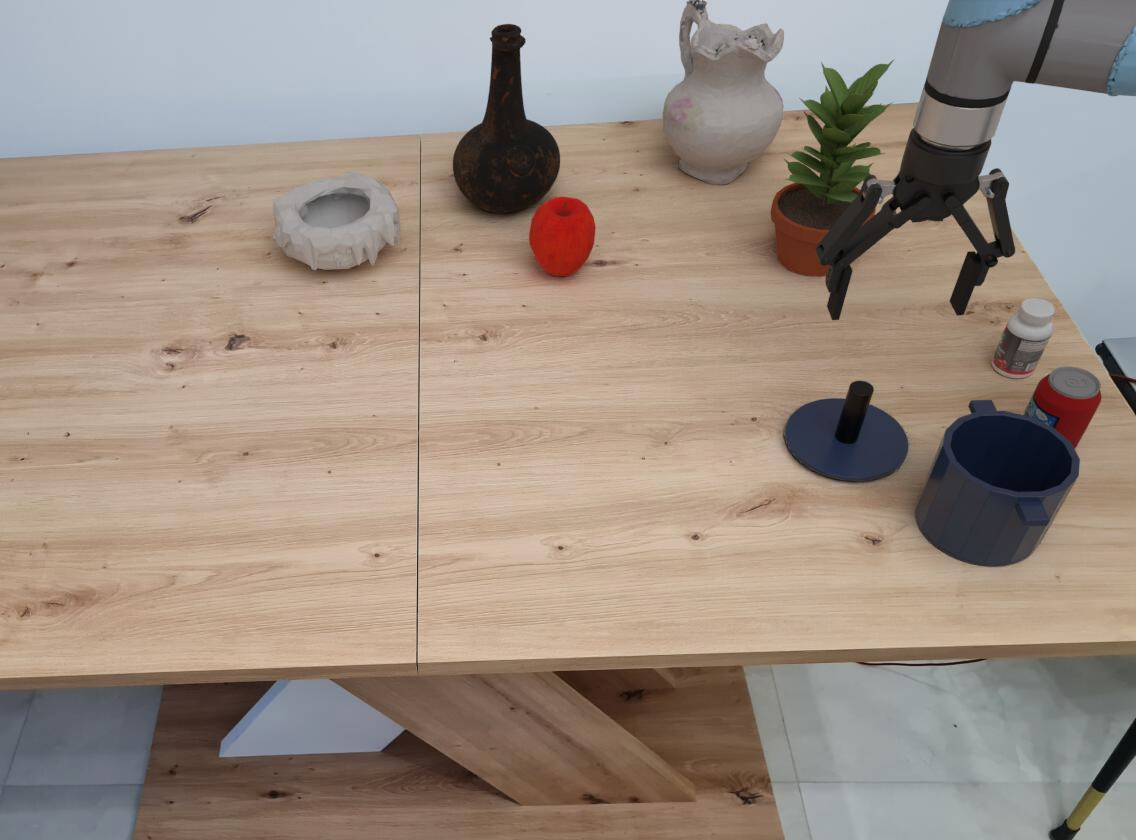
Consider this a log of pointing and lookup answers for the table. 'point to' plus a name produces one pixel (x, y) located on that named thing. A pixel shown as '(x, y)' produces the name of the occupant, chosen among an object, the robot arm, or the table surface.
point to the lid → (847, 436)
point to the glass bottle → (506, 140)
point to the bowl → (336, 221)
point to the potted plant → (825, 171)
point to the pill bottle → (1024, 339)
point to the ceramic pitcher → (722, 97)
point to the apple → (562, 235)
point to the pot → (995, 486)
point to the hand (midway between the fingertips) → (894, 310)
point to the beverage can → (1066, 401)
